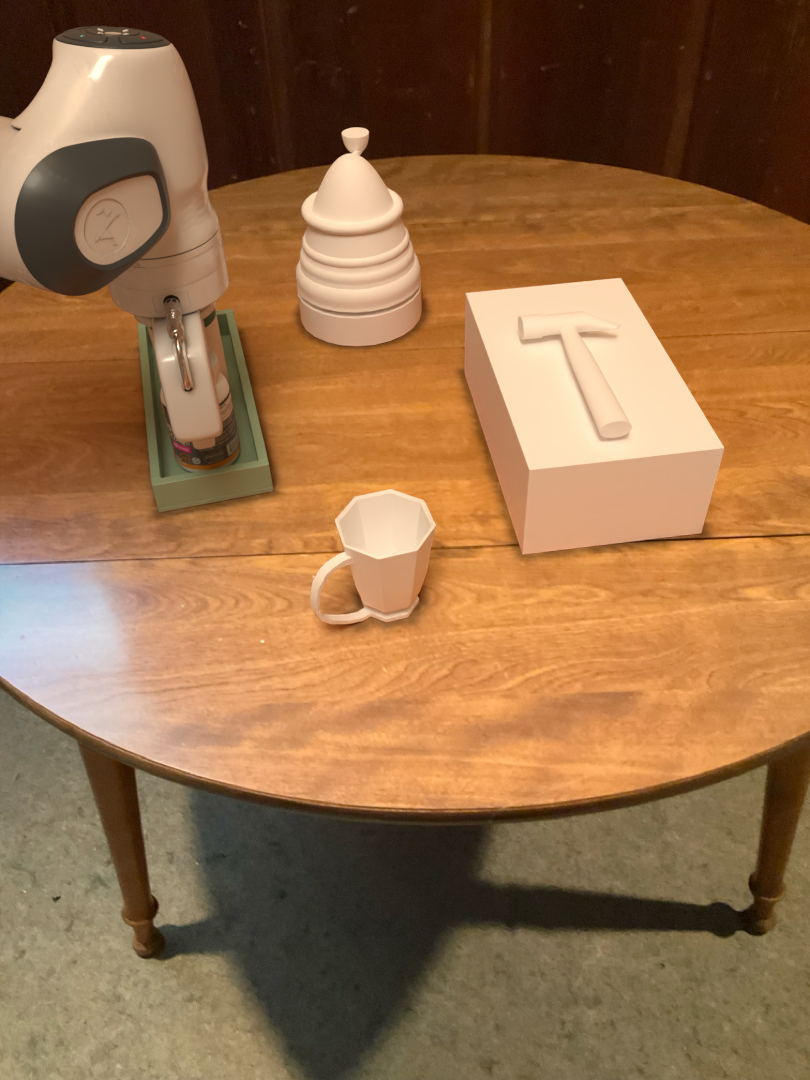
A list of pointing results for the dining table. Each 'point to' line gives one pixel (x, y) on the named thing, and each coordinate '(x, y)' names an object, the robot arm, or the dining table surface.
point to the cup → (380, 555)
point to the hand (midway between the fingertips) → (200, 417)
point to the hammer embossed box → (586, 417)
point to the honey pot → (357, 256)
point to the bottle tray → (252, 462)
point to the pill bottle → (225, 443)
